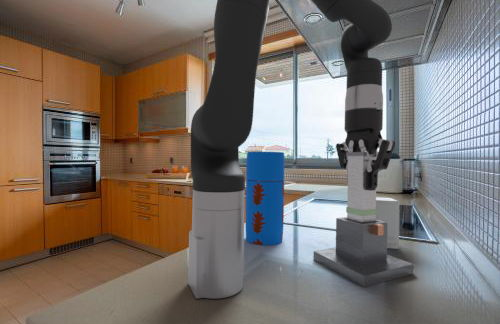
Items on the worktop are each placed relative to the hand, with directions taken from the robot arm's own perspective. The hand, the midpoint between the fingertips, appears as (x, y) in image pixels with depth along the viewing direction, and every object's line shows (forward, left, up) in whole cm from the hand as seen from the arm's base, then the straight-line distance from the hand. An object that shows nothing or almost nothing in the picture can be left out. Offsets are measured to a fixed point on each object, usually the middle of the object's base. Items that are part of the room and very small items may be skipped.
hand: (361, 188), depth 56 cm
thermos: (-10, +25, -17) cm, 32 cm away
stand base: (0, 0, -17) cm, 17 cm away
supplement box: (+18, +9, -17) cm, 26 cm away
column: (0, 0, -11) cm, 11 cm away
